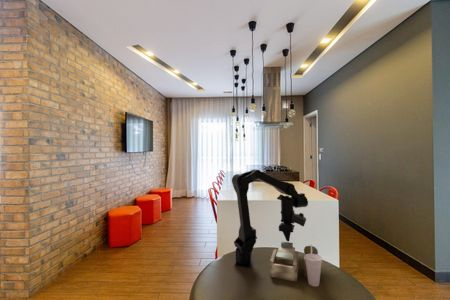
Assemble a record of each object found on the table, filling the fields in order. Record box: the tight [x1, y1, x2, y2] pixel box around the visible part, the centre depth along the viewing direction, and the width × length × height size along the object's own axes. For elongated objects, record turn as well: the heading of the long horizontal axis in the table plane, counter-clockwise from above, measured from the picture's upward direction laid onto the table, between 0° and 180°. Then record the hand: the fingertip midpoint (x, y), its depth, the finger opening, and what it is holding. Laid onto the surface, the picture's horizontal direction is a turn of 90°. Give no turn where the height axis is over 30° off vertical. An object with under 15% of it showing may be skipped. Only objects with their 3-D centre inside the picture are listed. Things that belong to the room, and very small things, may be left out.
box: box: [269, 248, 299, 283], centre depth 89 cm, size 10×12×6 cm
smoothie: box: [303, 244, 324, 287], centre depth 80 cm, size 6×6×14 cm
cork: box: [303, 245, 319, 279], centre depth 86 cm, size 6×6×11 cm
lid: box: [276, 241, 296, 260], centre depth 94 cm, size 7×12×3 cm, turn 159°
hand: (288, 241), depth 104 cm, fingers closed
